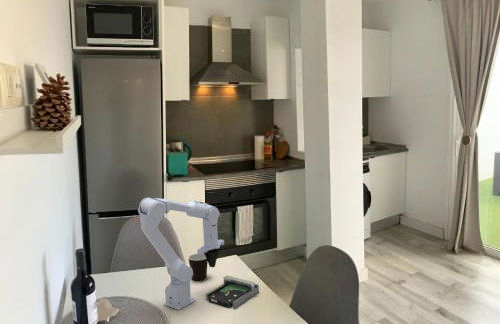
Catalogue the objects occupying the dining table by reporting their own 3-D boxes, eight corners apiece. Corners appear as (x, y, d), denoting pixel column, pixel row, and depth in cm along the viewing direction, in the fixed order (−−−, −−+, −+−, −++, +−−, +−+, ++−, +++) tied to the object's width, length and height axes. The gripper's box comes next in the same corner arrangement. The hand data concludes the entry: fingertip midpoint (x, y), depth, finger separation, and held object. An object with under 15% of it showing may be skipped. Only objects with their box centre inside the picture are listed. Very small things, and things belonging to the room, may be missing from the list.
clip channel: (234, 308, 154) (234, 295, 153) (206, 299, 161) (205, 287, 161) (258, 292, 167) (258, 280, 166) (231, 284, 175) (231, 273, 174)
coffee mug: (207, 282, 178) (206, 260, 177) (187, 282, 178) (186, 260, 177) (210, 272, 189) (209, 251, 188) (192, 272, 190) (191, 251, 188)
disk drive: (229, 310, 154) (251, 294, 166) (229, 303, 154) (251, 288, 166) (208, 303, 160) (230, 289, 172) (207, 296, 159) (230, 282, 172)
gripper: (206, 241, 158) (208, 274, 160) (229, 230, 170) (230, 262, 172) (192, 238, 162) (194, 271, 164) (216, 228, 174) (217, 259, 176)
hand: (212, 266), depth 168 cm, fingers closed
